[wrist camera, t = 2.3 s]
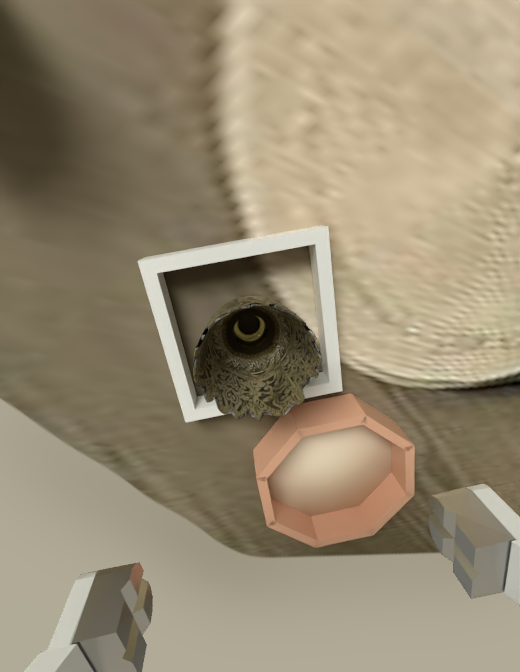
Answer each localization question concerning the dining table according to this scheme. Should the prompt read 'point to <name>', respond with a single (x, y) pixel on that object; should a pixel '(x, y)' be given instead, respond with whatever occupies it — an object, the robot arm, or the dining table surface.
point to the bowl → (333, 471)
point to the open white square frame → (310, 236)
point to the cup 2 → (255, 359)
